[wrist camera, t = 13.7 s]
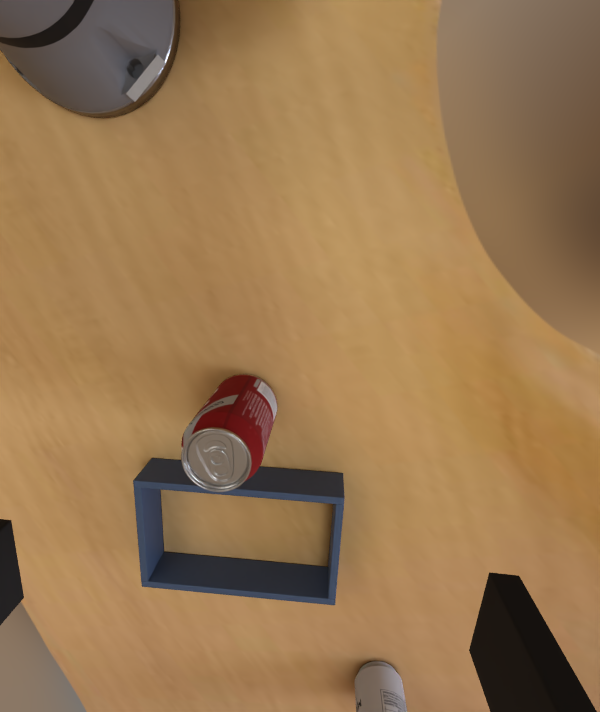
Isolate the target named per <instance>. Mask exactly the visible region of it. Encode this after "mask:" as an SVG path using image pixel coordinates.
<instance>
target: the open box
mask: <svg viewBox="0 0 600 712" xmlns="http://www.w3.org/2000/svg"><path fill="white" fill-rule="evenodd" d="M133 483H134V495H135V508H136V520H137V533H138V545H139V558H140V570H141V582H142V587H152V588H162V589H173V590H183V591H193V592H204V593H214V594H224V595H235V596H245V597H255V598H265V599H276V600H286V601H296V602H307V603H317V604H327V605H335V598H336V587H337V575H338V564H339V553H340V542H341V531H342V520H343V509H344V483H343V473H335V472H322V471H310V470H297V469H284V468H272V467H259V468H258V470H257V471H256V473H255V474H254V475H253V476H252V477H251V478H249V479H248V480H246V481H245V482H243V483H242V484H241V485H240V486H239V487H237V488H235V489H233V490H230V491H226V492H213V491H209V490H206V489H203V488H201V487H199V486H198V485H196V484H195V483H194V482H193V481H192V480H191V479H190V478H189V477H188V476H187V474H186V473H185V471H184V469H183V466H182V461H181V460H171V459H158V458H152V459H151V460H150V461H149V462H148V463H147V465H146V466H145V467H144V468H143V470H142V471H141V472H140V473H139V474H138V476H137V477H136V478H135V479H134V480H133ZM160 489H162V490H174V491H186V492H198V493H210V494H222V495H234V496H246V497H258V498H270V499H282V500H294V501H306V502H318V503H330V504H333V512H332V524H331V537H330V549H329V561H328V567H323V566H312V565H301V564H290V563H280V562H269V561H258V560H247V559H236V558H225V557H214V556H204V555H193V554H182V553H171V552H164V543H163V526H162V509H161V492H160Z"/></svg>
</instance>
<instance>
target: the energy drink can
mask: <svg viewBox="0 0 600 712" xmlns="http://www.w3.org/2000/svg"><path fill="white" fill-rule="evenodd" d="M355 698H356V712H407V707H406V702H405V696H404V690H403V684H402V679H401V677H400V676H399V674H398V673H397V672H396V671H395V669H394V668H393V667H392V666H391V665H389V664H387V663H385V662H380V661H373V662H369V663H367V664H365V665H363V666H362V667H361V668H360V670H359V673H358V674H357V676H356V678H355Z"/></svg>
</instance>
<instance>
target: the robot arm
mask: <svg viewBox="0 0 600 712" xmlns="http://www.w3.org/2000/svg"><path fill="white" fill-rule="evenodd" d="M179 32H180V10H179V1H178V0H0V50H1V51H2V52H3V54H4V55H5V57H6V58H7V59H8V61H9V62H10V64H11V65H12V66H13V67H14V69H15V70H16V71H17V72H18V73H19V74H20V75H21V77H22V78H23V79H24V80H25V81H26V82H28V83H29V84H30V85H31V86H32V87H33V88H34V89H36V90H37V91H38V92H39V93H41V94H42V95H43V96H45V97H46V98H48V99H49V100H51V101H53V102H54V103H56V104H58V105H60V106H62V107H64V108H66V109H68V110H70V111H72V112H75V113H77V114H81V115H84V116H89V117H97V118H108V117H115V116H119V115H123V114H126V113H128V112H131V111H133V110H134V109H136V108H138V107H140V106H141V105H142V104H144V103H145V102H146V101H148V100H149V99H150V98H151V97H152V96H153V95H154V94H155V93H156V92H157V90H158V89H159V88H160V86H161V85H162V84H163V82H164V80H165V79H166V77H167V75H168V73H169V71H170V69H171V67H172V64H173V61H174V58H175V55H176V51H177V47H178V41H179ZM23 598H24V596H23V590H22V584H21V577H20V571H19V565H18V559H17V553H16V547H15V541H14V535H13V529H12V523H11V520H3V519H0V625H1V624H2V623H3V621H4V620H5V619H6V618H7V617H8V616H9V614H10V613H11V612H12V611H13V609H15V607H16V606H17V605H18V604H19V603H20V602H21V600H22V599H23ZM469 651H470V654H471V657H472V660H473V662H474V665H475V668H476V671H477V674H478V677H479V680H480V683H481V686H482V688H483V691H484V694H485V697H486V700H487V703H488V706H489V709H490V712H597V711H596V710H595V708H594V706H593V704H592V703H591V701H590V699H589V697H588V696H587V694H586V692H585V690H584V689H583V687H582V685H581V683H580V682H579V680H578V678H577V676H576V675H575V673H574V671H573V669H572V668H571V666H570V664H569V662H568V661H567V659H566V657H565V655H564V654H563V652H562V650H561V648H560V647H559V645H558V643H557V641H556V640H555V638H554V636H553V634H552V633H551V631H550V629H549V627H548V626H547V624H546V622H545V620H544V619H543V617H542V615H541V614H540V612H539V610H538V608H537V607H536V605H535V603H534V601H533V600H532V598H531V596H530V594H529V593H528V591H527V589H526V587H525V586H524V584H523V582H522V580H521V579H520V577H519V576H516V575H507V574H498V573H489V576H488V580H487V584H486V588H485V591H484V595H483V599H482V603H481V607H480V611H479V615H478V618H477V622H476V626H475V630H474V634H473V638H472V642H471V645H470V649H469Z"/></svg>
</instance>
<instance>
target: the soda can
mask: <svg viewBox="0 0 600 712" xmlns="http://www.w3.org/2000/svg"><path fill="white" fill-rule="evenodd" d="M276 413H277V399H276V396H275V394H274V392H273V390H272V388H271V387H270V386H269V385H268V384H267V383H266V382H265V381H263V380H262V379H260V378H258V377H256V376H253V375H248V374H240V375H234V376H232V377H229V378H227V379H226V380H224V381H223V382H222V383H221V384H220V385H219V387H218V388H217V389H216V390H215V392H214V393H213V394H212V396H211V397H210V398H209V399H208V401H207V402H206V403H205V405H204V406H203V407H202V408H201V410H200V411H199V412H198V413H197V415H196V416H195V417H194V419H193V420H192V421H191V422H190V424H189V425H188V426H187V428H186V430H185V432H184V434H183V438H182V454H181V461H182V466H183V469H184V471H185V473H186V474H187V476H188V477H189V478H190V479H191V480H192V481H193V482H194V483H195V484H196V485H198V486H199V487H201V488H203V489H206V490H209V491H213V492H226V491H230V490H233V489H235V488H237V487H239V486H240V485H241V484H242V483H243V482H245V481H246V480H248V479H249V478H251V477H252V476H253V475H254V474H255V473H256V471H257V470H258V468H259V467H260V465H261V462H262V459H263V456H264V452H265V449H266V446H267V443H268V439H269V436H270V433H271V430H272V426H273V423H274V420H275V417H276Z"/></svg>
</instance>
